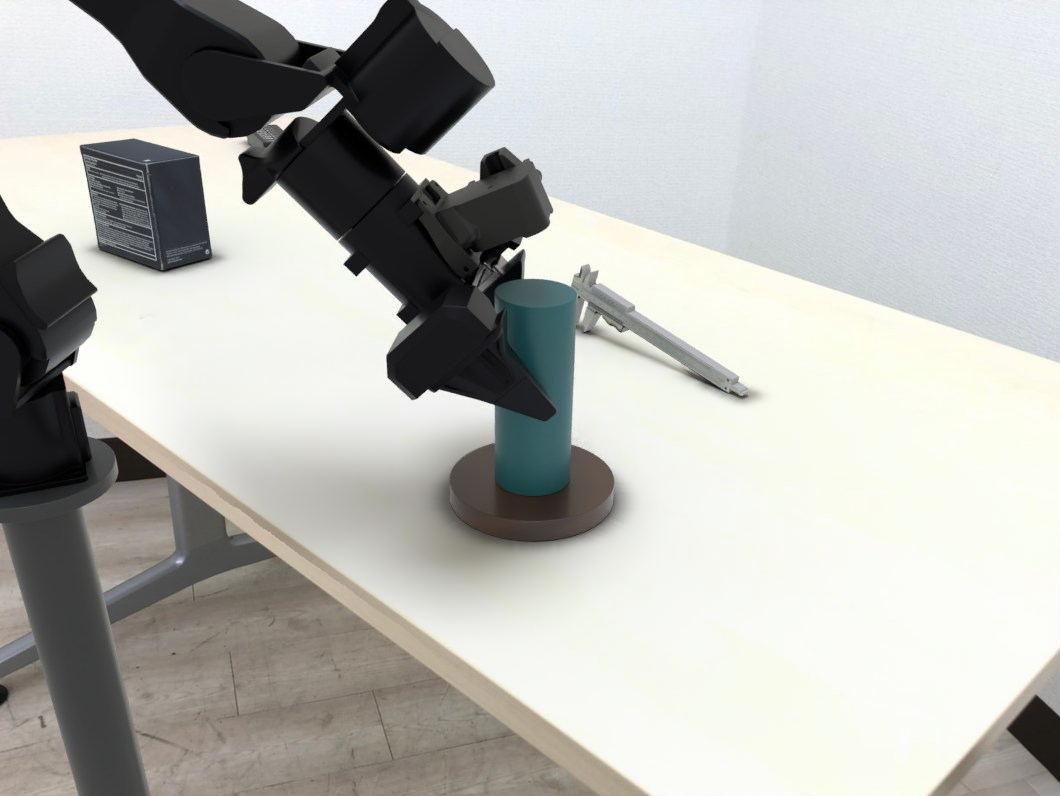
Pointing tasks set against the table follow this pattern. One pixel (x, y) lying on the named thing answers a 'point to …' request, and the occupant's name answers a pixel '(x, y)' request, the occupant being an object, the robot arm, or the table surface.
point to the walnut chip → (531, 499)
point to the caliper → (645, 329)
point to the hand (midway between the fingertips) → (556, 390)
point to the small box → (147, 202)
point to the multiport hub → (264, 136)
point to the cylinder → (549, 353)
